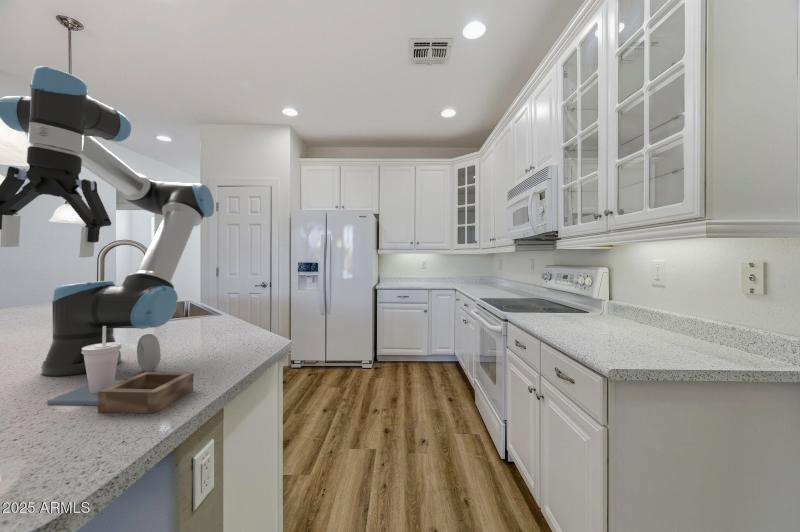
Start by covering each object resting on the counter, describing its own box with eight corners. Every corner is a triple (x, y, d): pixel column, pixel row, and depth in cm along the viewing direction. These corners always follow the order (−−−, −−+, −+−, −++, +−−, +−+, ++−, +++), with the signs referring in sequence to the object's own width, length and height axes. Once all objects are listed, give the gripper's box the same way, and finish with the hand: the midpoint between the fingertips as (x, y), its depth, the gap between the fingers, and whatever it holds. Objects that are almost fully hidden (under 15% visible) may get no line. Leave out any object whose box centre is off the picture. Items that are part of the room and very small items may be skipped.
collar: (144, 389, 70) (145, 371, 70) (193, 390, 70) (193, 372, 70) (97, 412, 59) (98, 391, 59) (155, 413, 59) (155, 392, 59)
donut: (134, 369, 83) (135, 332, 83) (150, 366, 86) (151, 330, 86) (145, 377, 77) (146, 338, 77) (162, 374, 80) (163, 335, 80)
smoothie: (96, 397, 64) (97, 329, 64) (72, 394, 65) (73, 328, 65) (128, 385, 70) (129, 324, 70) (106, 383, 71) (107, 322, 71)
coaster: (100, 383, 73) (100, 380, 73) (146, 384, 73) (146, 380, 73) (47, 404, 62) (47, 400, 62) (102, 405, 62) (102, 401, 62)
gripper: (-42, 130, 57) (-47, 242, 59) (112, 159, 63) (103, 262, 64) (1, 141, 65) (-4, 241, 67) (136, 167, 70) (128, 259, 72)
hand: (48, 251), depth 66 cm, fingers open, 13 cm apart
